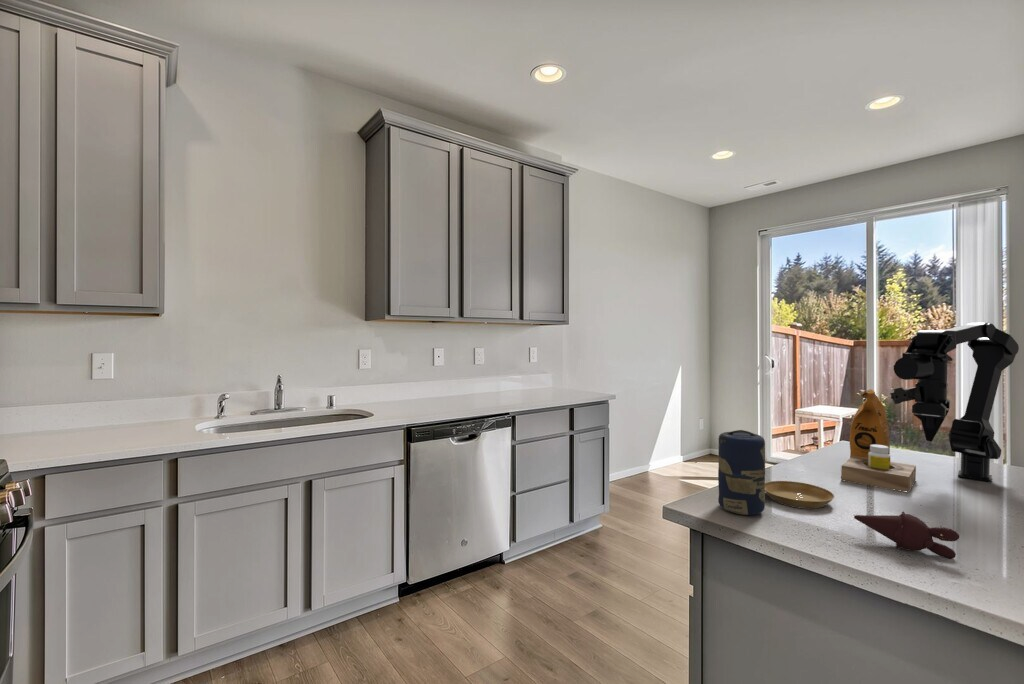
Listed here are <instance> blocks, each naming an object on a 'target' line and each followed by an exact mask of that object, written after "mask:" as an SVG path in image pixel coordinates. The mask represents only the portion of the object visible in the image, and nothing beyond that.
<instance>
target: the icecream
mask: <svg viewBox="0 0 1024 684" xmlns="http://www.w3.org/2000/svg"><path fill="white" fill-rule="evenodd" d="M853 518H854V520H856V521H859V523H862V524H863V525H865V526H867V527H868V528H870V529H872V530H873V531H874V532H877V533H879V534H880V535H882V536H884V537H885V538H887V539H889V540H890V541H892V542H893V543H895V549H896V550H898V549H900V548H901V549H903V550H907V551H912V552H914V551H915V552H916V551H917V552H918V551H922V550H925V549H927V550H929V551H930V552H931V553H933V554H936V555H937V556H939V557H941V558H945V559H949V560H950V559H955V558H956V556H957V554H956V552H955V551H954V549H953V548H950V547H949V546H947V545H945V544H943V543H942V544H941V543H939V542H936V541H934V539H933V538H935V539H938V540H939V541H945V542H956V541H958V540H959V539H960V534H959V533H958V532H957V531H956V530H954V529H952V528H950V527H943V526H942V527H941V526H940V527H929V526H928V525H927V524H926V522H924V521H923V520H922V519H920V518H918V517H917V516H914V515H912V514H911V513H906V512H905V511H904V510H903V511H902V512H901V513H900V514H899V515H892V514H891V515H890V514H889V515H883V514H881V515H878V514H877V515H860V514H858V515H855V514H854V516H853Z"/></svg>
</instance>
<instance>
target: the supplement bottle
mask: <svg viewBox="0 0 1024 684" xmlns="http://www.w3.org/2000/svg"><path fill="white" fill-rule="evenodd" d="M888 453H889V447H888V446H884V445H875V444H873V445H870V452H869V453H868V466H870V467H873V468H880V469H890V462H891V455H889V454H888Z"/></svg>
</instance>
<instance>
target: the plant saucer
mask: <svg viewBox="0 0 1024 684" xmlns="http://www.w3.org/2000/svg"><path fill="white" fill-rule="evenodd" d="M797 493H801V494H799V495H797ZM765 494H767V495H768V496H769V497H770V498H771V500H774V501H775V502H777V503H779V504H781V505H785V506H788V507H792V506H793V508H798V507H800V508H799V509H808V508H809V509H811V510H812V509H819V508H820V509H821V508H823V507H825V506H826V505H828V504H830V503H831V502H832V501H833V500H834V499H835V494H834V493H833V492H832V491H830V490H828V489H826V488H823V487H822V486H819V485H814V484H811V483H805V482H801V481H800V482H799V481H791V480H773V481H767V482H766V481H765ZM800 495H802V496H800ZM799 496H800V497H803V498H800V497H799ZM796 497H797V498H796ZM796 499H798V500H796Z"/></svg>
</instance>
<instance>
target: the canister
mask: <svg viewBox="0 0 1024 684" xmlns="http://www.w3.org/2000/svg"><path fill="white" fill-rule="evenodd" d="M717 445H718V468H717V469H718V470H717V471H718V474H717V475H718V477H717V478H718V485H717V486H718V499H717V501H718V504H719V506H720V507H721V508H722V509H724V510H726V511H727V512H731V513H734V514H738V515H746V516H749V515H753V516H754V515H758V514H761V513H762V512H764V511H765V507H766V506H765V505H766V502H765V501H766V499H765V497H766V492H765V483H766V441H765V438H764V437H763V436H762V435H759V434H758V433H757V434H756V433H755V432H754V433H753V432H751V431H747V430H743V429H736V430H732V431H725V432H722V433H720V434H719V436H718V444H717Z"/></svg>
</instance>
